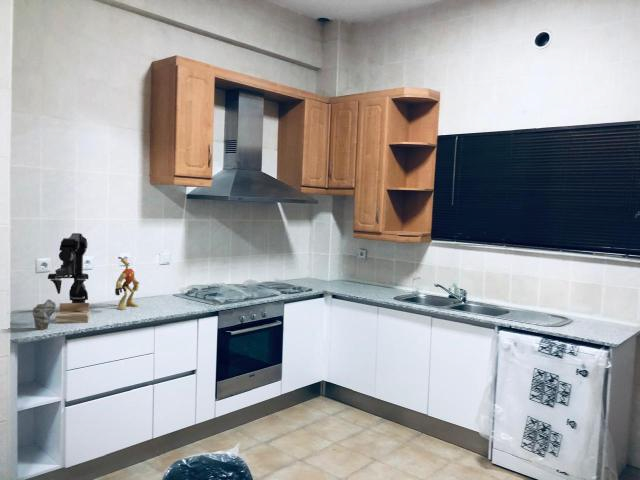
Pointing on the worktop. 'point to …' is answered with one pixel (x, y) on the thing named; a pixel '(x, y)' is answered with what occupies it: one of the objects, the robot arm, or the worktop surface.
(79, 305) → the flap
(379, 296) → the worktop surface
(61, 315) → the plywood box
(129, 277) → the toy
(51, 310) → the rock
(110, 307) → the worktop surface
